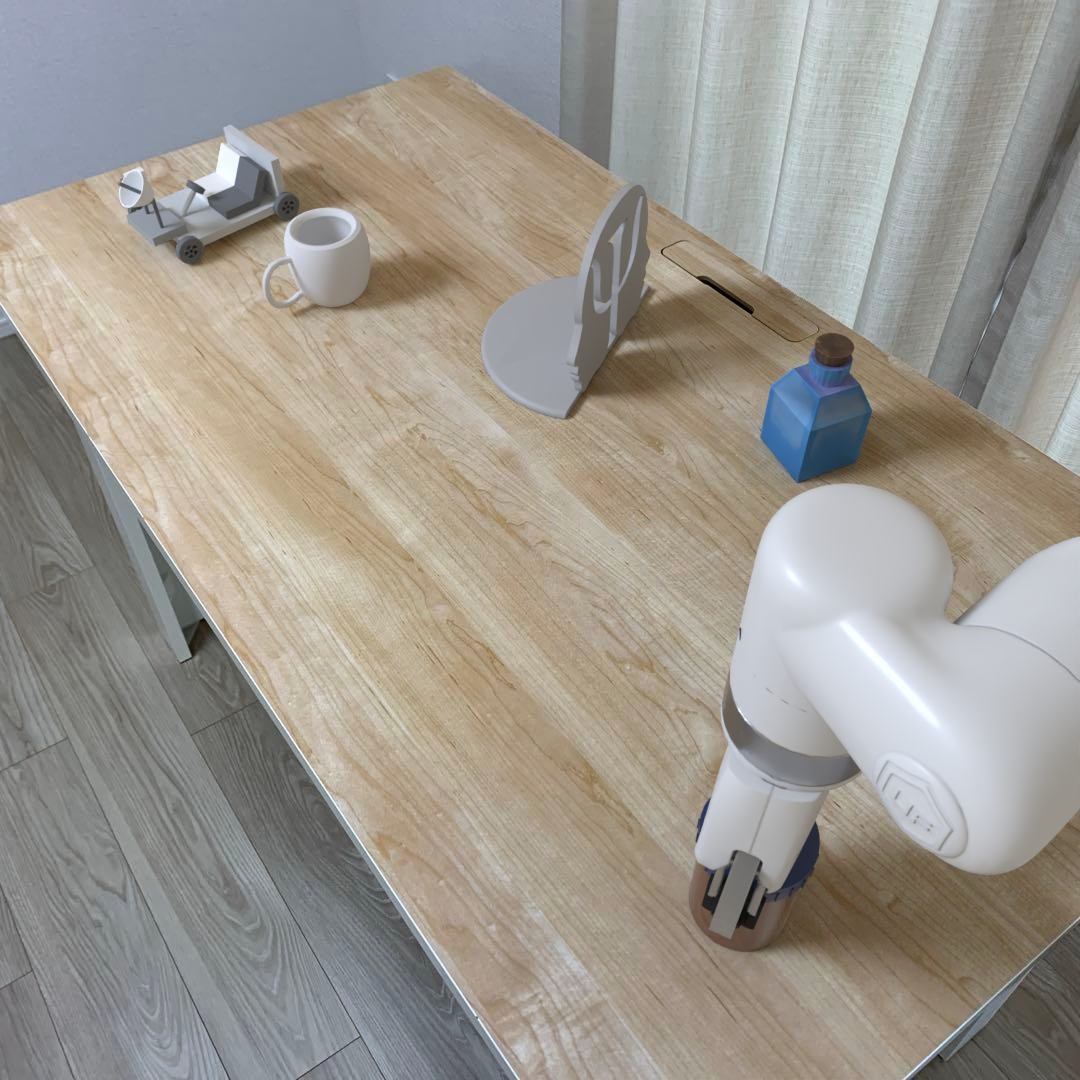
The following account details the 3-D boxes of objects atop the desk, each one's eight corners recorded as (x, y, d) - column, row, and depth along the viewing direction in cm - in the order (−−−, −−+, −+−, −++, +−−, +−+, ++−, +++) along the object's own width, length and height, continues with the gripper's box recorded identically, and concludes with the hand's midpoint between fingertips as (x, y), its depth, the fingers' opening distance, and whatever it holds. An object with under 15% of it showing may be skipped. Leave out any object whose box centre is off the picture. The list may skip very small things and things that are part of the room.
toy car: (132, 197, 105) (80, 152, 110) (161, 279, 112) (110, 233, 118) (285, 133, 112) (228, 94, 118) (302, 213, 120) (248, 174, 125)
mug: (349, 258, 114) (337, 193, 108) (391, 295, 110) (382, 230, 104) (251, 301, 109) (233, 236, 103) (291, 342, 105) (275, 276, 99)
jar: (809, 912, 67) (836, 850, 60) (735, 972, 65) (754, 915, 58) (741, 836, 71) (760, 769, 64) (668, 890, 68) (679, 827, 61)
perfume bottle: (760, 437, 95) (781, 333, 86) (818, 418, 97) (845, 313, 88) (796, 482, 92) (823, 378, 82) (856, 462, 93) (889, 357, 84)
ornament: (566, 421, 97) (567, 270, 84) (441, 382, 101) (424, 231, 88) (652, 288, 110) (665, 139, 97) (538, 258, 113) (535, 110, 101)
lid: (719, 773, 65) (722, 760, 63) (830, 819, 62) (835, 806, 61) (677, 872, 61) (680, 860, 59) (795, 924, 58) (800, 913, 57)
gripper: (784, 549, 55) (738, 719, 69) (660, 828, 45) (636, 963, 59) (926, 599, 53) (850, 764, 67) (829, 904, 43) (763, 1025, 57)
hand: (750, 856), depth 63 cm, fingers closed on lid, 6 cm apart
